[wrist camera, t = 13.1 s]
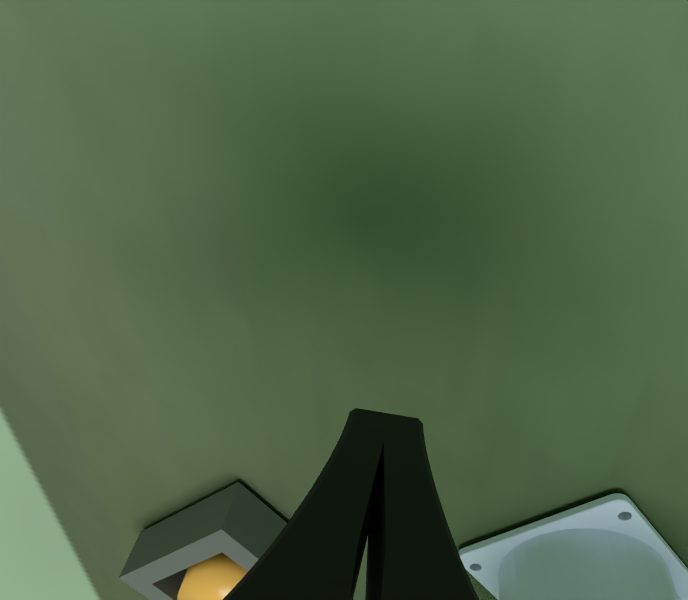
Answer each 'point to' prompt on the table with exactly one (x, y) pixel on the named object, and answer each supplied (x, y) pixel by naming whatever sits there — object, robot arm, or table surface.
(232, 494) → the button base
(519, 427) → the table surface
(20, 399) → the table surface
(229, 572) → the button
